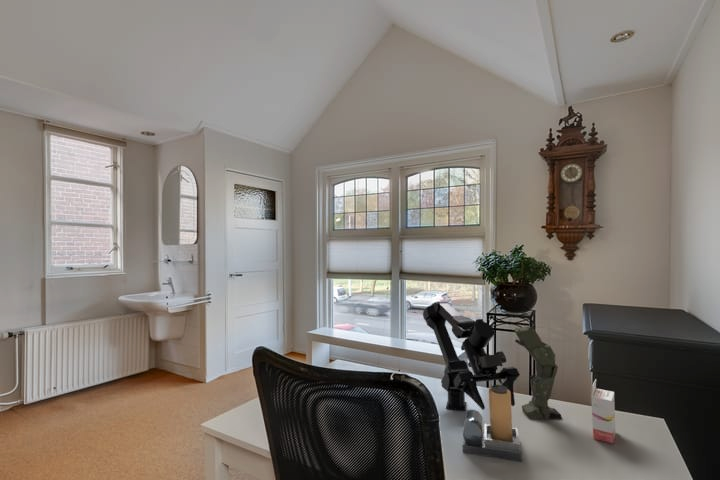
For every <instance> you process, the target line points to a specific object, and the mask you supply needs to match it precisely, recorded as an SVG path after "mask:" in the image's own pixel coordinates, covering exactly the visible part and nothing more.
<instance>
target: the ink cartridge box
mask: <svg viewBox="0 0 720 480" xmlns="http://www.w3.org/2000/svg"><path fill="white" fill-rule="evenodd" d="M615 406H616V405H615V391H612V390H605V389H601V388H597V379H596V378H595V379H594V381H593V383H592V385H591V415H592V419H591V420H592V434H593V437H592V438H593V440H598V441H601V442H606V443H609V444H614V442H615V441H614V440H615V437H616V432H617V429H616V412H615V411H616V409H615V408H616V407H615Z"/></svg>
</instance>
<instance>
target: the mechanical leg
mask: <svg viewBox="0 0 720 480" xmlns="http://www.w3.org/2000/svg"><path fill="white" fill-rule="evenodd" d="M513 331H514V332H515V334H516V336H517V338H518V339H515V340H514V342H515V343H517V344H518V345H520V346H522V347H523V348H525V350H526V351H527V352H528V354H530V356H531V357H532V359H533V361H535V366H534V367H535V372H536V374H534V373H533V374H532V375H530V376H529V378H530V388H531V391H532V393H533V394H532V396H531V400H529V401H528V403H525V404H523V405H521V410H522V412H523V413H524V414H525V416H527V418H528V419H545V420H555V419H556V420H560V419H561V420H562V419H563V417H562V414H561V413H560V412H558V410H557V409H556V408H553V407H550V406H549V399H550V398H551V397H552V392H553V387H554V382H555V378H556V375H557V372H558V367H559V366H558V365H557V364H556V353H555V352H554V351H553V348H552V347H551V345H549V344H547V343H546V342H544V341H542V339H541V337H540V336H539V333H538V332H537V331H536V330H535V328H534V327H532V326H530V325H525V326H523V327H515V329H514V330H513Z"/></svg>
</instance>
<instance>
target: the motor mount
mask: <svg viewBox="0 0 720 480" xmlns="http://www.w3.org/2000/svg"><path fill="white" fill-rule="evenodd" d="M463 422H464V424H463V431H462V435H463V436H462V453H465V454H469V455H470V454H471V455H477V456H483V457H489V458H496V459H501V460H508V461H509V460H510V461H516V462H519V463H520V462H522V450H521V449H522V448H521V441H520V434H519V430H518V427H512V438H513V442H508V441H501V440H494V439H491V433H490V424H487V423H484V426H483V417H482V414H481V413H480V412H479V411H478V410H476V409H469V410H466V412H465V415H464V421H463Z"/></svg>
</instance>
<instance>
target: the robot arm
mask: <svg viewBox="0 0 720 480" xmlns="http://www.w3.org/2000/svg"><path fill="white" fill-rule="evenodd" d="M422 316H423V320H424V321H425V323H426V326H428V327H429V328H430V329H432V330H433V332H434V335H435V338H436V341H437V343H438V347H439V349H440V352H441V354H442V357H443V361H444V363H445V367H444V370H443V371H444V372H443V374H444V376H443V377H442V378H441V380H440V381H441V387H442V388H443V389H444V390H445V391H446V392H447V402H446V406H445V409H448V410H455V411H464V412H465V411H467V404H468V403H467V401H465V400H466V399H465V396H466V395H467V396H468V397H469V398H470V399H472V400H473V401H474V403H475V404H476V405H478V407H479V408H480V409H481V410H482V411H483V410H485V409H486V407H485V403H484V401H483V399H482V396H481V394H480V391H479V390H478V386H477V383H480V382H489V381H498V382H499V384H500V385H503V386H506V387H507V389H508V390H509V391H510V392H511V407H514V406H515V405H516V401H515V400H516V399H515V394H514V393H515V392H514V383H515V381H516V380H517V379H518V378H519V376H520V375H521V374H520V372H519V369H518V368H517V367H515V366H507V367H503V364H504V363H507V358H506V357H507V356H506V355H505V353H504V351H497V352H494V354H489V353H487V352H486V350H485V348H486V347H487V346H488V345H489V343H490V341H491V340H492V339H493V337H494V335H495V329H494V327H493V326H492V325H490V323H488V322H486V321H484V319H483V318H477V319H475V320H474V319H473V318H471V317H469V316H464V315H461V314H460V312H458V311H457V310H456V309H455V308H454V307H453V306H452V305H450V302H449V301H447V300H441V301H439V300H437V301H435V302H434V303H433V304H431V305H429V306H426V308H425V309H424V310H423V311H422ZM446 322H447V323H448V324H449V325H450V326H451V332H452V334H453V336H455V337H456V339H460V340H461V339H464V340H463V341H462V344H461V345H460V346H461V347H460V349H461V351H464V353H465V355H466V358H467V359H468V363H467V362H466V360H462V359H459V357H458V354H457V352H456V349H455V347H454V343H453V341H452V339H451V336H450V333H449V332H448V329H447V327H446V326H447V325H446ZM498 367H503V368H502V369H501V370H500V371H499V372H495V371H498V369H499V368H498ZM469 368H471V369H472V371H471V370H470V369H469ZM465 394H466V395H465Z"/></svg>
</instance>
